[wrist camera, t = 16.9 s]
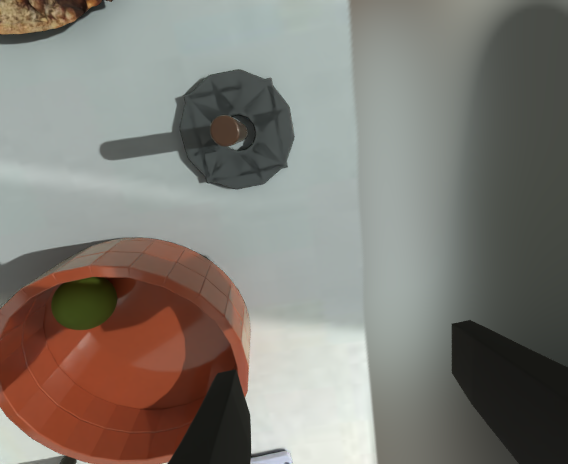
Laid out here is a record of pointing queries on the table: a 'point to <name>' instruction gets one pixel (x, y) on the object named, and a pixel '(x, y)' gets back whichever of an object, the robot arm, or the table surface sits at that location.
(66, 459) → the stand
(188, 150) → the holder
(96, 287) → the olive
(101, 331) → the bowl
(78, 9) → the cactus
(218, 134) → the stick
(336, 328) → the table surface
